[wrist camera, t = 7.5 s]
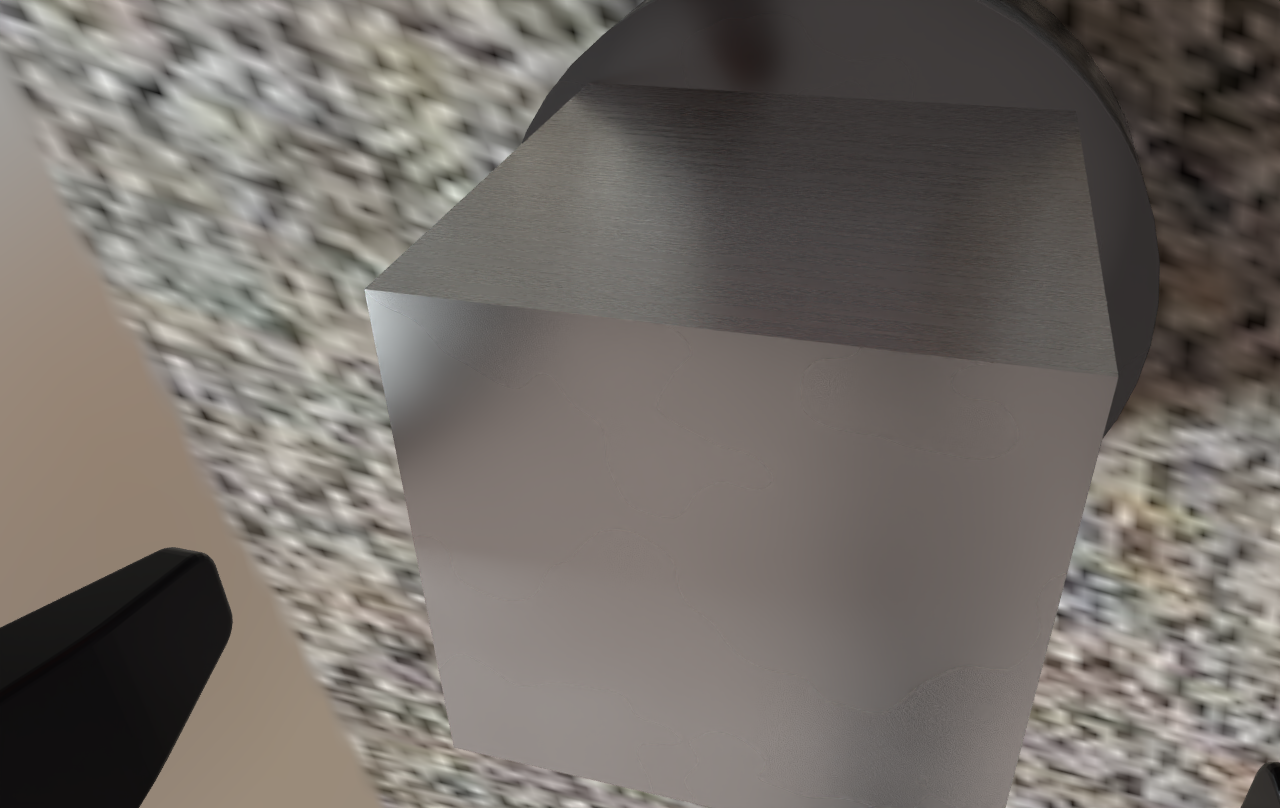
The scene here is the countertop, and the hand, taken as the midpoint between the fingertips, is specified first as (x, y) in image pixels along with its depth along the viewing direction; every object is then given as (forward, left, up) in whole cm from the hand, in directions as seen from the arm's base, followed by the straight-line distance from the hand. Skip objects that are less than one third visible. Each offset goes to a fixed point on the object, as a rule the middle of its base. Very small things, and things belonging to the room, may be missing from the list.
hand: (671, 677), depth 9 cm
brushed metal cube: (0, 0, -7) cm, 7 cm away
